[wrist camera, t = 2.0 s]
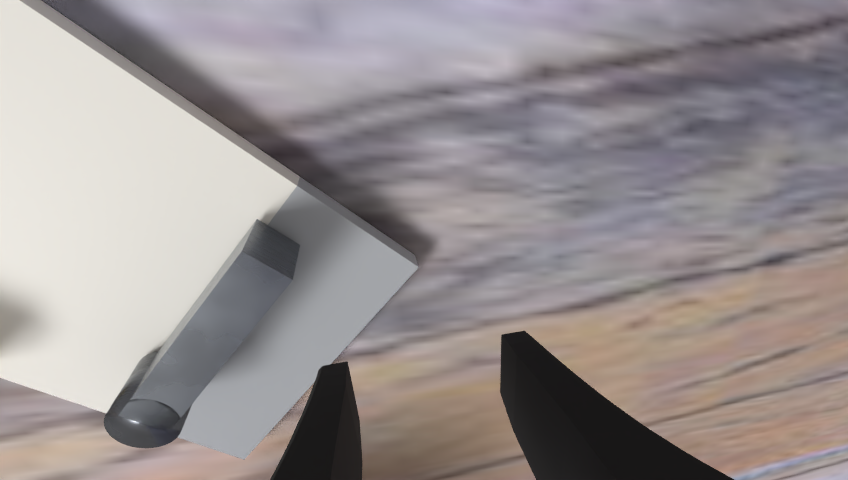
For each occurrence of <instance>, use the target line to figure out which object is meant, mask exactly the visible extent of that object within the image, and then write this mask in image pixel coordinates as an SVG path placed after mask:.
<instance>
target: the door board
mask: <svg viewBox="0 0 848 480" xmlns="http://www.w3.org/2000/svg"><path fill="white" fill-rule="evenodd" d="M256 219H258V220H260V221H262V222H263V223H265V224H266V225H268V226H270V227H271V228H273V229H275V230H276V231H278V232H280V233H281V234H283V235H285V236H286V237H288V238H290V239H291V240H293V241H295V242H296V243H298V244H300V248H299V253H298V258H297V263H296V268H295V272H294V277H293V280H292V282H291V283H290V284H289V285H288V287H287V288H286V289H285V290H284V292H283V293H282V294H281V295H280V296H279V298H278V299H277V300H276V301H275V303H274V304H273V305H272V306H271V308H270V309H269V310H268V311H267V312H266V314H265V315H264V316H263V317H262V319H261V320H260V321H259V322H258V324H257V325H256V326H255V327H254V329H253V330H252V331H251V332H250V333H249V335H248V336H247V337H246V338H245V340H244V341H243V342H242V343H241V345H240V346H239V347H238V348H237V349H236V351H235V352H234V353H233V354H232V356H231V357H230V358H229V359H228V361H227V362H226V363H225V364H224V365H223V367H222V368H221V369H220V370H219V372H218V373H217V374H216V375H215V377H214V378H213V379H212V380H211V381H210V383H209V384H208V385H207V386H206V388H205V389H204V390H203V391H202V393H201V394H200V395H199V396H198V397H197V399H196V400H195V401H194V402H193V404H192V406H191V409H190V411H189V414H188V416H187V418H186V421H185V423H184V426H183V428H182V431H181V433H180V434H179V436H178V438H181V439H184V440H187V441H190V442H193V443H196V444H199V445H202V446H205V447H208V448H211V449H214V450H217V451H220V452H223V453H226V454H229V455H232V456H235V457H238V458H241V459H245V458H246V457H247V456H248V455H249V454H250V453H251V451H252V450H253V449H254V448H255V447H256V446H257V445H258V444H259V443H260V442H261V440H262V439H263V438H264V437H265V436H266V435H267V434H268V433H269V432H270V431H271V429H272V428H273V427H274V426H275V425H276V424H277V423H278V422H279V421H280V420H281V418H282V417H283V416H284V415H285V414H286V413H287V412H288V411H289V410H290V408H291V407H292V406H293V405H294V404H295V403H296V402H297V401H298V400H299V399H300V397H301V396H302V395H303V394H304V393H305V392H306V391H307V390H308V389H309V388H310V386H311V385H312V384H313V383H314V382H315V380H316V377H317V373H318V370H319V369H320V368H321V367H322V366H324V365H330V364H331V363H332V362H333V361H334V360H335V359H336V358H337V357H338V356H339V354H340V353H341V352H342V351H343V350H344V349H345V348H346V347H347V346H348V345H349V343H350V342H351V341H352V340H353V339H354V338H355V337H356V336H357V335H358V333H359V332H360V331H361V330H362V329H363V328H364V327H365V326H366V325H367V324H368V322H369V321H370V320H371V319H372V318H373V317H374V316H375V315H376V314H377V313H378V311H379V310H380V309H381V308H382V307H383V306H384V305H385V304H386V303H387V302H388V300H389V299H390V298H391V297H392V296H393V295H394V294H395V293H396V292H397V290H398V289H399V288H400V287H401V286H402V285H403V284H404V283H405V282H406V281H407V279H408V278H409V277H410V276H411V275H412V274H413V273H414V272H415V271H416V270H417V268H418V263H417V260H416V257H415V255H414V254H413V253H411V252H410V251H408V250H407V249H405V248H404V247H402V246H401V245H400V244H398V243H397V242H395V241H394V240H392V239H391V238H389V237H388V236H386V235H385V234H383V233H382V232H380V231H379V230H378V229H376V228H375V227H373V226H372V225H370V224H369V223H367V222H366V221H364V220H363V219H361V218H360V217H358V216H357V215H356V214H354V213H353V212H351V211H350V210H348V209H347V208H345V207H344V206H342V205H341V204H339V203H338V202H336V201H335V200H333V199H332V198H331V197H329V196H328V195H326V194H325V193H323V192H322V191H320V190H319V189H317V188H316V187H314V186H313V185H311V184H310V183H309V182H307V181H306V180H304V179H303V178H301V177H300V176H298V175H297V174H295V173H294V172H292V171H291V170H289V169H288V168H287V167H285V166H284V165H282V164H281V163H279V162H278V161H276V160H275V159H273V158H272V157H270V156H269V155H267V154H266V153H265V152H263V151H262V150H260V149H259V148H257V147H256V146H254V145H253V144H251V143H250V142H248V141H247V140H245V139H244V138H242V137H241V136H240V135H238V134H237V133H235V132H234V131H232V130H231V129H229V128H228V127H226V126H225V125H223V124H222V123H220V122H219V121H218V120H216V119H215V118H213V117H212V116H210V115H209V114H207V113H206V112H204V111H203V110H201V109H200V108H198V107H197V106H196V105H194V104H193V103H191V102H190V101H188V100H187V99H185V98H184V97H182V96H181V95H179V94H178V93H176V92H175V91H174V90H172V89H171V88H169V87H168V86H166V85H165V84H163V83H162V82H160V81H159V80H157V79H156V78H154V77H153V76H151V75H150V74H149V73H147V72H146V71H144V70H143V69H141V68H140V67H138V66H137V65H135V64H134V63H132V62H131V61H129V60H128V59H127V58H125V57H124V56H122V55H121V54H119V53H118V52H116V51H115V50H113V49H112V48H110V47H109V46H107V45H106V44H105V43H103V42H102V41H100V40H99V39H97V38H96V37H94V36H93V35H91V34H90V33H88V32H87V31H85V30H84V29H83V28H81V27H80V26H78V25H77V24H75V23H74V22H72V21H71V20H69V19H68V18H66V17H65V16H63V15H62V14H60V13H59V12H58V11H56V10H55V9H53V8H52V7H50V6H49V5H47V4H46V3H44V2H43V1H41V0H0V378H3V379H6V380H9V381H12V382H14V383H17V384H20V385H23V386H26V387H29V388H32V389H35V390H38V391H41V392H44V393H47V394H50V395H53V396H56V397H59V398H62V399H65V400H68V401H71V402H74V403H77V404H80V405H83V406H86V407H89V408H92V409H95V410H98V411H101V412H104V413H107V412H108V410H109V409H110V407H111V405H112V404H113V402H114V401H115V399H116V397H117V396H118V394H119V393H120V391H121V389H122V388H123V386H124V385H125V383H126V381H127V380H128V378H129V377H130V375H131V373H132V372H133V370H134V369H135V367H136V365H137V364H138V362H139V361H140V360H141V359H142V358H143V357H144V356H146V355H147V354H150V353H152V352H156V351H159V350H160V348H161V347H162V346H163V344H164V343H165V342H166V340H167V339H168V338H169V336H170V335H171V334H172V332H173V331H174V330H175V328H176V327H177V325H178V324H179V323H180V321H181V320H182V319H183V317H184V316H185V315H186V313H187V312H188V311H189V309H190V308H191V307H192V305H193V304H194V303H195V301H196V300H197V299H198V297H199V296H200V295H201V293H202V292H203V291H204V289H205V288H206V287H207V285H208V284H209V283H210V281H211V280H212V278H213V277H214V276H215V274H216V273H217V272H218V270H219V269H220V268H221V266H222V265H223V264H224V262H225V261H226V260H227V258H228V257H229V256H230V254H231V253H232V252H233V250H234V249H235V248H236V246H237V245H238V244H239V242H240V241H241V240H242V238H243V237H244V236H245V234H246V233H247V231H248V230H249V229H250V227H251V226H252V225H253V223H254V222H255V221H256Z"/></svg>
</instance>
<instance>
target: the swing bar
mask: <svg viewBox="0 0 848 480" xmlns="http://www.w3.org/2000/svg"><path fill="white" fill-rule="evenodd" d="M299 248H300V244H298V243H296V242H295V241H293V240H291V239H290V238H288V237H286V236H285V235H283V234H281V233H280V232H278V231H276V230H275V229H273V228H271V227H270V226H268V225H266V224H265V223H263V222H262V221H260V220H258V219H256V221H255V222H254V223H253V225H252V226H251V227H250V229H249V230H248V231H247V233H246V234H245V236H244V237H243V238H242V240H241V241H240V242H239V244H238V245H237V246H236V248H235V249H234V250H233V252H232V253H231V254H230V256H229V257H228V258H227V260H226V261H225V262H224V264H223V265H222V266H221V268H220V269H219V270H218V272H217V273H216V274H215V276H214V277H213V278H212V280H211V281H210V283H209V284H208V285H207V287H206V288H205V289H204V291H203V292H202V293H201V295H200V296H199V297H198V299H197V300H196V301H195V303H194V304H193V305H192V307H191V308H190V309H189V311H188V312H187V313H186V315H185V316H184V317H183V319H182V320H181V321H180V323H179V324H178V325H177V327H176V328H175V330H174V331H173V332H172V334H171V335H170V336H169V338H168V339H167V340H166V342H165V343H164V344H163V346H162V347H161V348H160V350H159V351H156V352H152V353H150V354H147V355H146V356H144V357H143V358H142V359H141V360H140V361H139V362H138V364H137V365H136V367H135V369H134V370H133V372H132V373H131V375H130V377H129V378H128V380H127V381H126V383H125V385H124V386H123V388H122V389H121V391H120V393H119V394H118V396H117V397H116V399H115V401H114V402H113V404H112V405H111V407H110V409H109V410H108V412H107V413H106V415H105V418H104V426H105V429H106V431H107V432H108V433H109V435H110V436H111V437H113V438H114V439H115V440H117V441H118V442H120V443H123V444H125V445H128V446H132V447H137V448H154V447H160V446H163V445H166V444H168V443H170V442H172V441H173V440H175V439H176V438H177V437H178V436H179V434H180V433H181V431H182V428H183V426H184V423H185V421H186V418H187V416H188V414H189V411H190V409H191V406H192V404H193V402H194V401H195V400H196V399H197V397H198V396H199V395H200V394H201V393H202V391H203V390H204V389H205V388H206V386H207V385H208V384H209V383H210V381H211V380H212V379H213V378H214V377H215V375H216V374H217V373H218V372H219V370H220V369H221V368H222V367H223V365H224V364H225V363H226V362H227V361H228V359H229V358H230V357H231V356H232V354H233V353H234V352H235V351H236V349H237V348H238V347H239V346H240V345H241V343H242V342H243V341H244V340H245V338H246V337H247V336H248V335H249V333H250V332H251V331H252V330H253V329H254V327H255V326H256V325H257V324H258V322H259V321H260V320H261V319H262V317H263V316H264V315H265V314H266V312H267V311H268V310H269V309H270V308H271V306H272V305H273V304H274V303H275V301H276V300H277V299H278V298H279V296H280V295H281V294H282V293H283V292H284V290H285V289H286V288H287V287H288V285H289V284H290V283H291V282H292V280H293V277H294V272H295V268H296V263H297V258H298V253H299Z"/></svg>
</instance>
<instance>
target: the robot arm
mask: <svg viewBox="0 0 848 480" xmlns="http://www.w3.org/2000/svg"><path fill="white" fill-rule="evenodd" d="M500 393H501V396H502V399H503V402H504V405H505V408H506V411H507V414H508V417H509V420H510V423H511V425H512V428H513V431H514V433H515V435H516V437H517V440H518V442H519V444H520V446H521V448H522V450H523V452H524V455H525V457H526V459H527V461H528V463H529V465H530V467H531V469H532V472H533V474H534V476H535V478H536V480H734V479H732V478H730V477H728V476H727V475H725V474H723V473H721V472H719V471H718V470H716V469H714V468H712V467H710V466H709V465H707V464H705V463H703V462H701V461H700V460H698V459H696V458H695V457H693V456H691V455H690V454H688V453H686V452H685V451H683V450H681V449H680V448H678V447H676V446H675V445H673V444H672V443H670V442H669V441H667V440H665V439H664V438H662V437H661V436H659V435H658V434H656V433H654V432H653V431H651V430H650V429H648V428H647V427H645V426H644V425H642V424H641V423H639V422H638V421H636V420H635V419H634V418H632V417H631V416H629V415H628V414H627V413H625V412H624V411H622V410H621V409H620V408H618V407H617V406H616V405H614V404H613V403H611V402H610V401H609V400H607V399H606V398H605V397H604V396H602V395H601V394H600V393H598V392H597V391H596V390H595V389H593V388H592V387H591V386H589V385H588V384H587V383H586V382H584V381H583V380H582V379H581V378H579V377H578V376H577V375H576V374H574V373H573V372H572V371H571V370H570V369H568V368H567V367H566V366H565V365H564V364H563V363H561V362H560V361H559V360H558V359H557V358H555V357H554V356H553V355H552V354H551V353H550V352H549V351H547V350H546V349H545V348H544V347H543V346H542V345H540V344H539V343H538V342H537V341H536V340H535V339H534V338H532V337H531V336H530V335H529V334H528V333H526V332H525V331H520V332H515V333H509V334H503V335H502V337H501V383H500ZM270 480H362V449H361V435H360V421H359V415H358V410H357V405H356V401H355V396H354V391H353V386H352V381H351V376H350V371H349V367H348V362H342V363H336V364H330V365H324V366H322V367H321V368H320V369H319V370H318V373H317V377H316V380H315V383H314V385H313V388H312V391H311V394H310V396H309V399H308V401H307V404H306V406H305V408H304V411H303V413H302V416H301V418H300V420H299V422H298V424H297V427H296V429H295V431H294V433H293V435H292V438H291V440H290V442H289V444H288V446H287V448H286V450H285V452H284V454H283V456H282V458H281V460H280V462H279V464H278V466H277V468H276V470H275V472H274V474H273V476H272V477H271V479H270Z"/></svg>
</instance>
